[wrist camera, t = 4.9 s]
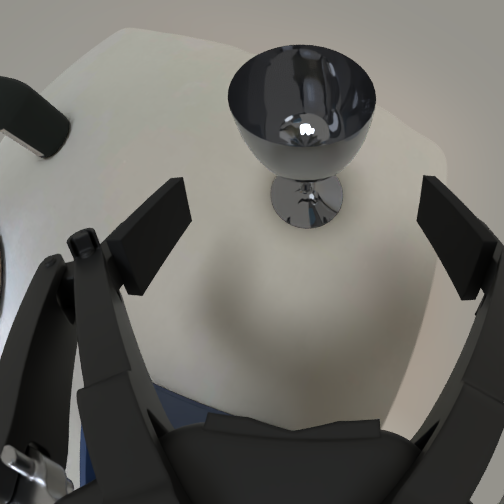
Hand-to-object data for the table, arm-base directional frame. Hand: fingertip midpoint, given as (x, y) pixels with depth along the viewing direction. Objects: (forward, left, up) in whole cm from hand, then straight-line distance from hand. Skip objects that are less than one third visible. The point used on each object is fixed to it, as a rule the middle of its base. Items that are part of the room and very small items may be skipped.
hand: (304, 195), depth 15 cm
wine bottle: (+43, -9, -13) cm, 46 cm away
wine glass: (+1, -5, -13) cm, 14 cm away
